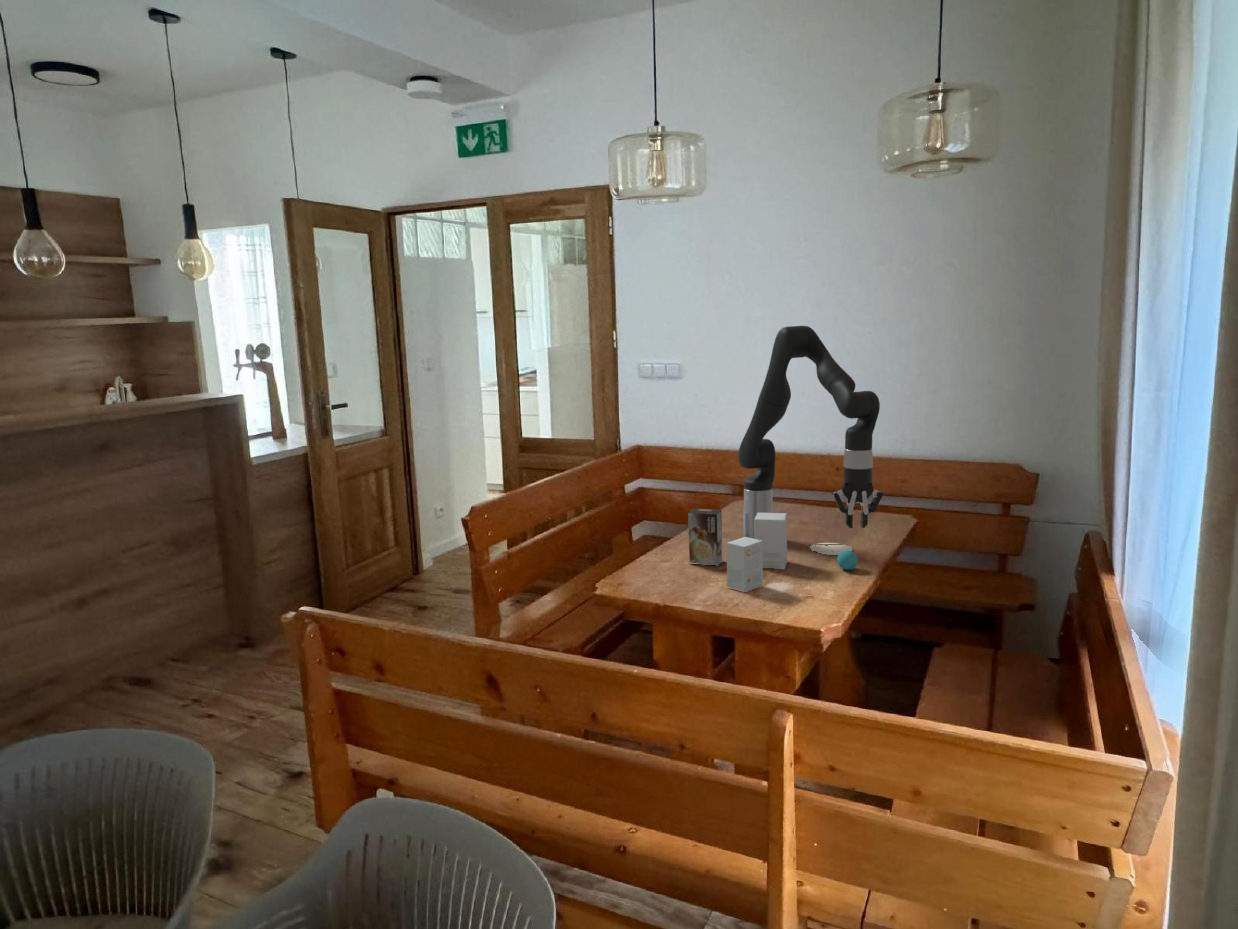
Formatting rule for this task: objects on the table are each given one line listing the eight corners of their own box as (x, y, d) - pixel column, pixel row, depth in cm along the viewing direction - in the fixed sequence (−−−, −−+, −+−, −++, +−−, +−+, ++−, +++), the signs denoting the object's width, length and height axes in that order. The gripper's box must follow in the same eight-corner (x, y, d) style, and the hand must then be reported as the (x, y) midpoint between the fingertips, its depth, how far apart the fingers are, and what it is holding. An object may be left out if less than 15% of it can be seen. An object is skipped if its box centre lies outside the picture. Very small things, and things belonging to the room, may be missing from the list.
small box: (745, 581, 227) (744, 536, 225) (763, 586, 223) (763, 540, 221) (726, 588, 222) (726, 542, 220) (744, 593, 217) (744, 546, 215)
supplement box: (787, 561, 245) (787, 512, 242) (785, 570, 236) (785, 520, 234) (757, 559, 247) (757, 511, 245) (753, 568, 239) (753, 518, 236)
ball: (839, 572, 232) (839, 553, 231) (835, 566, 238) (835, 548, 237) (859, 572, 232) (859, 553, 231) (854, 566, 238) (854, 547, 237)
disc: (814, 555, 250) (814, 554, 250) (806, 543, 262) (806, 543, 262) (857, 554, 249) (857, 554, 249) (846, 543, 262) (846, 542, 262)
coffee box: (723, 561, 247) (722, 509, 244) (718, 567, 241) (718, 514, 238) (693, 558, 250) (693, 507, 247) (688, 564, 244) (687, 512, 241)
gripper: (835, 468, 217) (833, 531, 220) (888, 467, 216) (886, 530, 219) (828, 463, 224) (827, 524, 227) (880, 462, 223) (878, 523, 226)
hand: (856, 527), depth 223 cm, fingers open, 3 cm apart
